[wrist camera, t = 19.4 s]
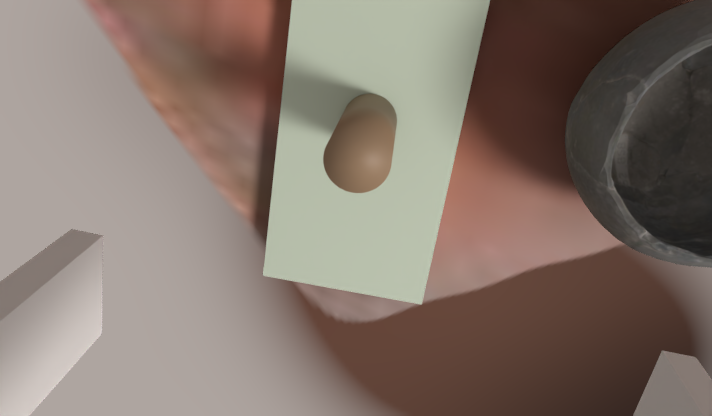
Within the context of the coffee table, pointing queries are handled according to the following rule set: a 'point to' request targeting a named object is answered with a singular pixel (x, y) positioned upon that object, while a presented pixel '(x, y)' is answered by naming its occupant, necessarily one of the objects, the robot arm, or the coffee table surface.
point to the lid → (369, 140)
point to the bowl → (650, 137)
